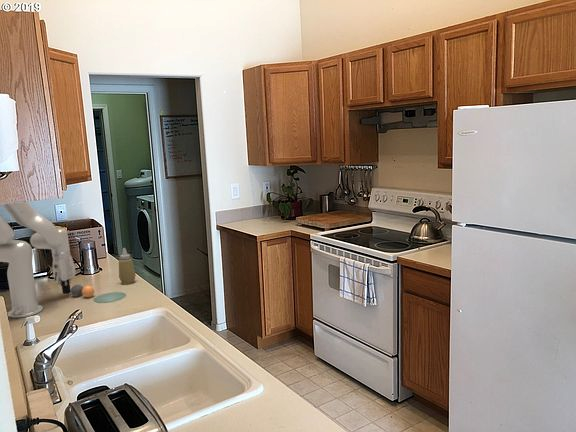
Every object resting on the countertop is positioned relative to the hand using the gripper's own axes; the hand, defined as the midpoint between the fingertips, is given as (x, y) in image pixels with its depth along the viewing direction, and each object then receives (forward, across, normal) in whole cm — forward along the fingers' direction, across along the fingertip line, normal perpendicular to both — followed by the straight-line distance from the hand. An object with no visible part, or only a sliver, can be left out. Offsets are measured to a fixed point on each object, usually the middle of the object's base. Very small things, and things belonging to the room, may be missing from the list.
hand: (66, 293), depth 221 cm
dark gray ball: (-1, +1, -5) cm, 5 cm away
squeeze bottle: (+2, +21, -19) cm, 29 cm away
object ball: (-1, -1, -12) cm, 12 cm away
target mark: (+2, -1, -23) cm, 23 cm away
